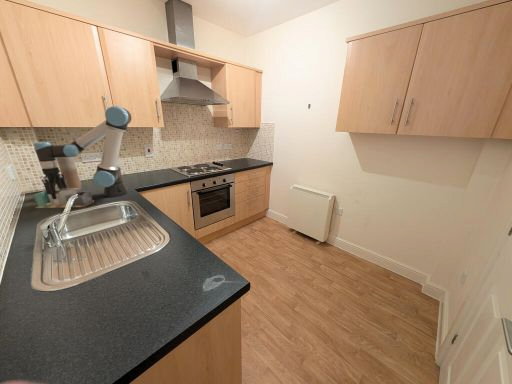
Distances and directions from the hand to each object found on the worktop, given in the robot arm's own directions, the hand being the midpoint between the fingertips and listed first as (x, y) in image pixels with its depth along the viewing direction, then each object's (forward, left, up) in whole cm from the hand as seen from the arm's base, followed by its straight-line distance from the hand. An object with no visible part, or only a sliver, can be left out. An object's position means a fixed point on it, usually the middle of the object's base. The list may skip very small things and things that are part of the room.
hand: (61, 201), depth 134 cm
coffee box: (+15, -17, -2) cm, 23 cm away
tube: (-4, 0, -1) cm, 4 cm away
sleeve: (-12, 0, -2) cm, 12 cm away
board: (-3, 0, -2) cm, 3 cm away
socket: (+9, 0, -2) cm, 10 cm away
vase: (+20, -37, -2) cm, 42 cm away
